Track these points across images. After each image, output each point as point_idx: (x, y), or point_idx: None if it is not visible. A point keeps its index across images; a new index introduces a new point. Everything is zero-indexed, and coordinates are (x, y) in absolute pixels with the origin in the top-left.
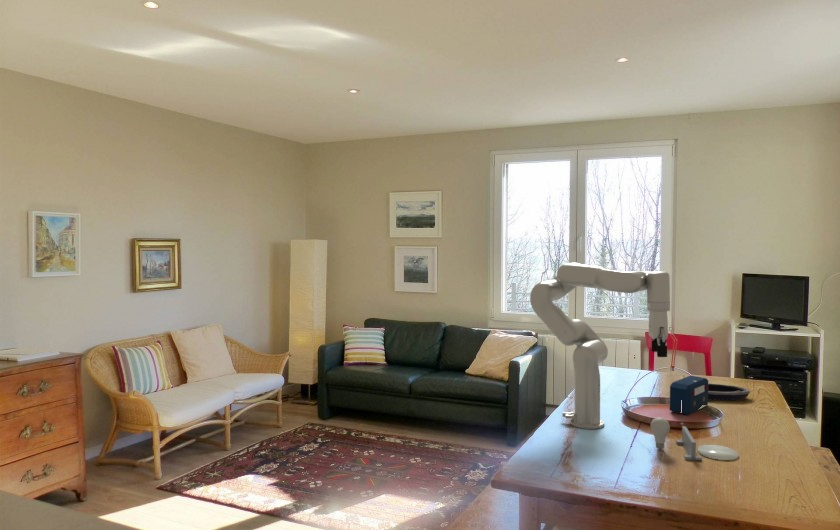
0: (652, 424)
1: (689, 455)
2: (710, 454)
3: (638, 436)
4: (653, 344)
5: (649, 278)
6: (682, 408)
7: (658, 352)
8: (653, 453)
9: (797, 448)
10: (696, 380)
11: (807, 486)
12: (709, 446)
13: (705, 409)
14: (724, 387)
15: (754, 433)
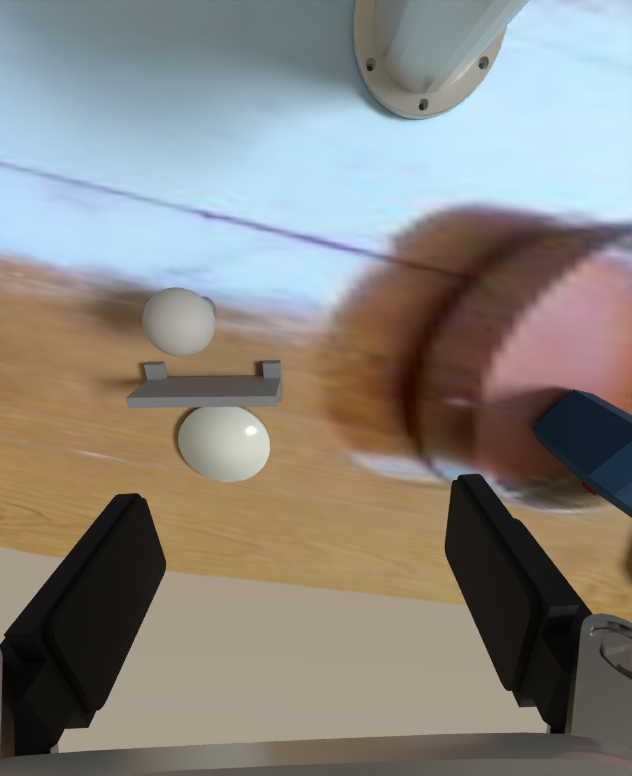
0: (156, 294)
1: (160, 377)
2: (193, 426)
3: (311, 252)
4: (497, 563)
5: None
6: (548, 427)
7: (89, 542)
8: (165, 283)
9: (308, 579)
10: None
11: None
12: (254, 435)
13: None
14: None
15: (391, 537)
